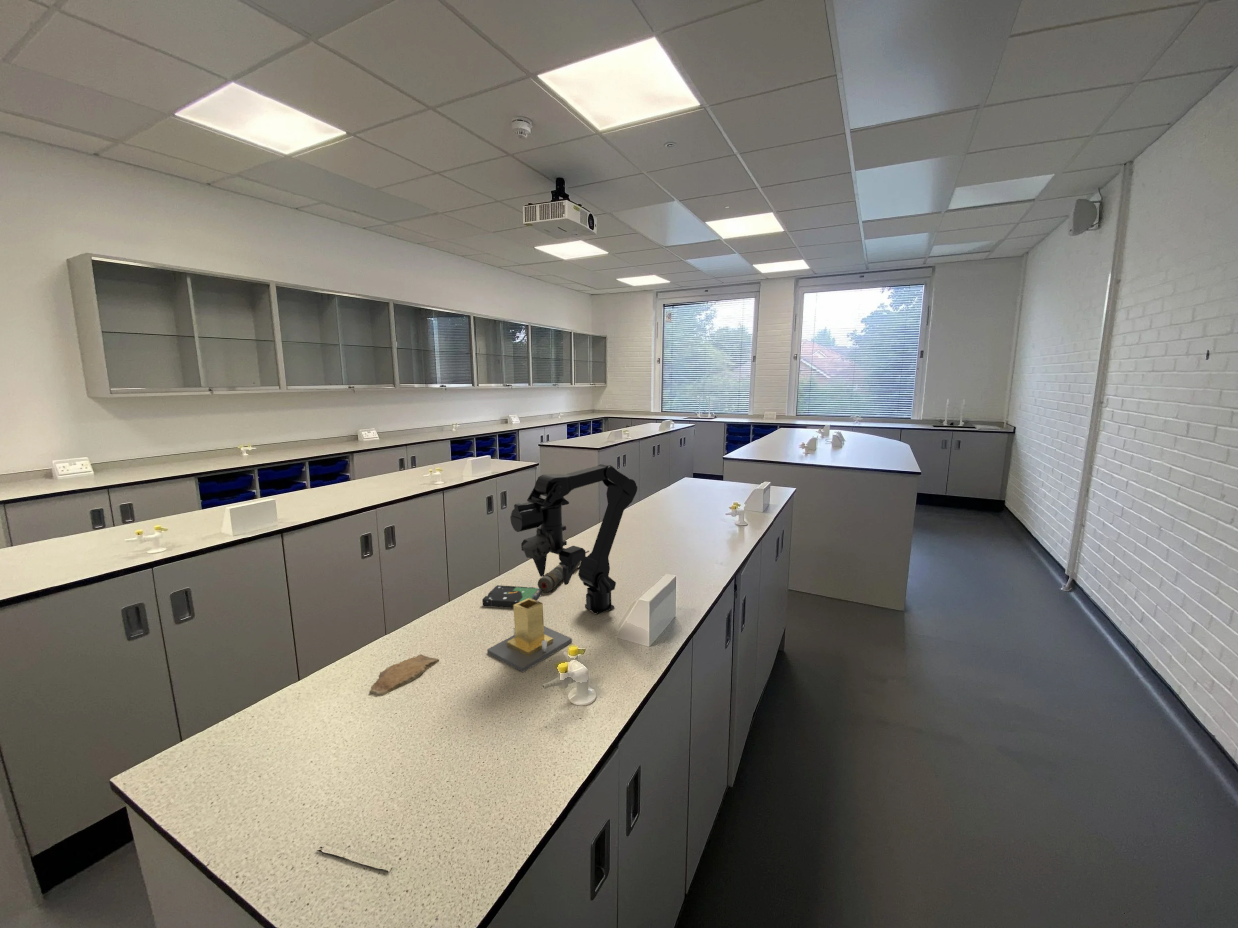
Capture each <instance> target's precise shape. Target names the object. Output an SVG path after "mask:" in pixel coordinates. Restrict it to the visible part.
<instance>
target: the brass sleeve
mask: <svg viewBox="0 0 1238 928" xmlns="http://www.w3.org/2000/svg"><path fill="white" fill-rule="evenodd" d="M512 609H513V620H514V628H515V638H513V639H511V640H509V641H507V646H509V647H511V648H513V649H515V650H517V651H519V652H521V653H522V654H524V655H526V656H530V655H532V654H534V653H535V652H537V651H539V650H540V649H542V641H543V640H546V641H547V645H549V644H551V643H552V642H553V638H551V637H549V636H547V635H545V634H544V626H545V624H544V622H545V621H544V603H543V602H541V601H538V600H537V601H536V600H534V599H531V598H527V599H525V600H523V601H521V602H519V603H517V604H514V605H513V608H512Z"/></svg>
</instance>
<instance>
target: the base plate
mask: <svg viewBox="0 0 1238 928" xmlns="http://www.w3.org/2000/svg"><path fill="white" fill-rule="evenodd" d="M544 634H545V635H547V636H549V637H551V638H553V642H552V643H551V644H549V645H547V641H546V640H543V641H542V649H540V650H539V651H537V652H535V653H534V654H532V655H530V656H526V655H524V654H522V653H521V652H519V651H517V650H515V649H513V648H511V647H509V646H507V641H509V640H511V639H513V638H515V627H514V628H513V635H512V636H510V637H508V638H506V639H504V640H502V641H500V642H498V643H496V644H494V645H493V646H491V647H489V648H487V649H486V651H487V654H488V655H490V656H492V657H494V658H496V659H497V660H499V661H501V662H503V663H505V664H506V665H509V667H512V668H513V669H516V670H517V671H519V672H522V673H523V672H526V671H528V669H531V668H532V667H534V666H535V665H537V664H539V663H541V662H542V661H543V660H545V659H547V658H548V657H550V656H551V655H553V654H555V653H556V652H558V651H559V650H561V649H563V648H565V647H566V646H568V645H569V644H572V642H573V639H572V638H571V636H568V635H565V634H563V633H561V632H559V631H556V630H554V629H551V628H549V627H546V625H544Z"/></svg>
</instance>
